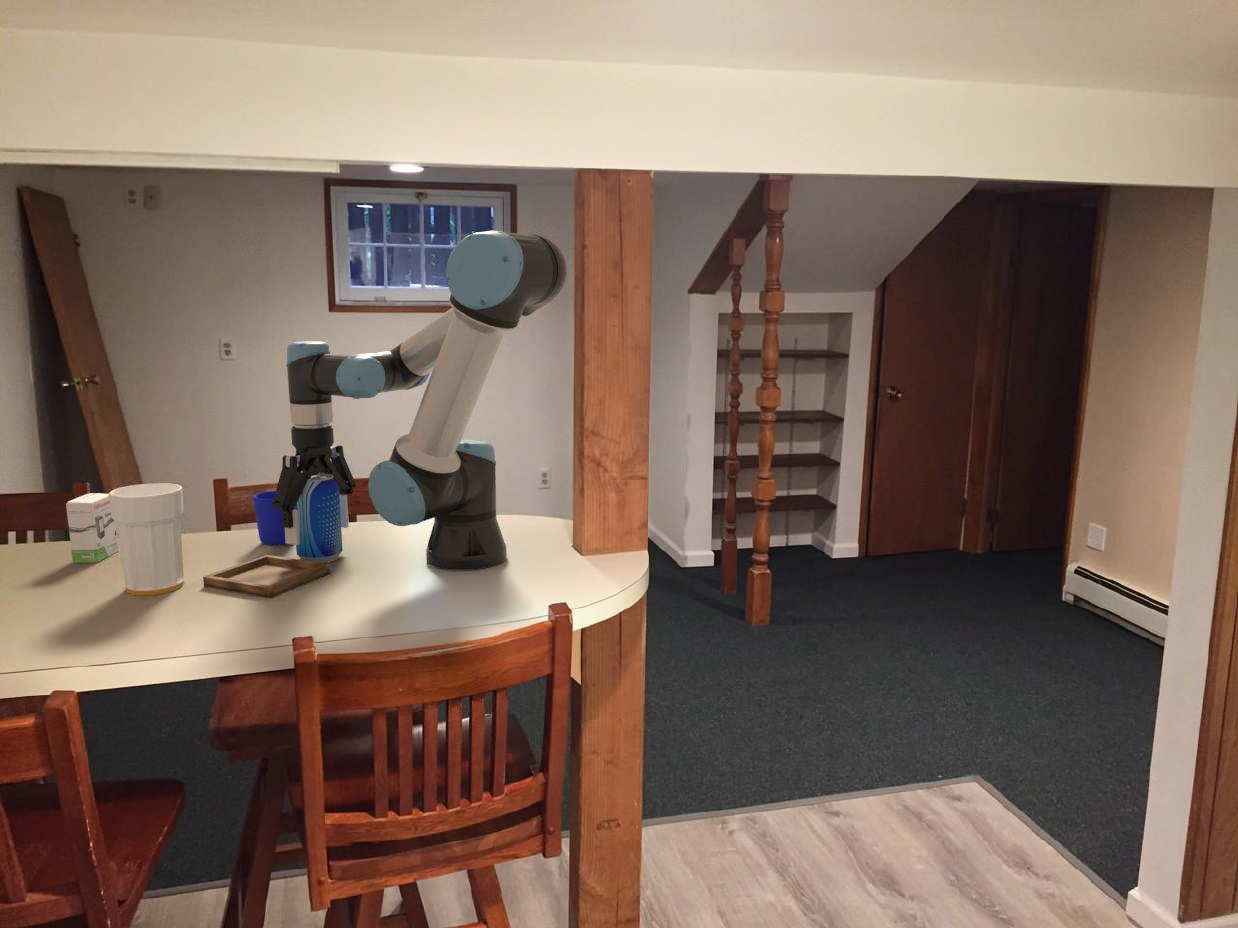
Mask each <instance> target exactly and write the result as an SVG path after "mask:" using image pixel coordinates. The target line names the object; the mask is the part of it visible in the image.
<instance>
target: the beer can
mask: <svg viewBox="0 0 1238 928" xmlns="http://www.w3.org/2000/svg"><path fill="white" fill-rule="evenodd" d="M294 509H295V510H298V521H299V538H300V544H299V545H295V546H296V547H295V549H296V550H295V551H296V555H297V556H298V558H300V560H305V561H311V562H318V563H324V564H327V563H331V562H333V561H337V559H339V557H340V555H341V554H342V552H343V537H342V536H343V535H342V532H343V531H342V527H341V514H340V496H339V486H338V485H337V483H336V482H335V480H334V479H333V475H331V474H326V473H318V474H317V475H314V476H311V478H310V479H309V480H307V482H306V484H305V487H304V489H303V491H302V493H301V495H300V497H299V499H298V501H297V504H296V506H295V508H294Z"/></svg>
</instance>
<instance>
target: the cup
mask: <svg viewBox="0 0 1238 928" xmlns="http://www.w3.org/2000/svg"><path fill="white" fill-rule="evenodd" d="M183 492H184V491H183V486H182V485H180V484H176V483H171V482H170V483H169V482H168V483H167V482H166V483H165V482H164V483H162V482H155V483H140V484H133V485H131V484H130V485H128V486H122V487H118V488H114V489H113V490H111V491H110V492H109V493H108V494H109V500H110V507H111V514H112V519H113V520H114V521H115V522H116V524H117V534H118V545H119V552H120V558H121V559H120V560H121V567H122V573H123V580H124V585H125V591H126V593H128V595H129V594H130V595H132V596H139V597H141V596H157V595H163V594H166V593H171V592H174V591H177V590H179V589H181V588H182V587H183V586H184V583H185V581H184V561H183V558H184V557H183V544H182V543H183V541H182V540H183V539H182V526H181V525H182V522H181V516H182V514H183V512H184V510H185V509H184V494H183Z"/></svg>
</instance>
